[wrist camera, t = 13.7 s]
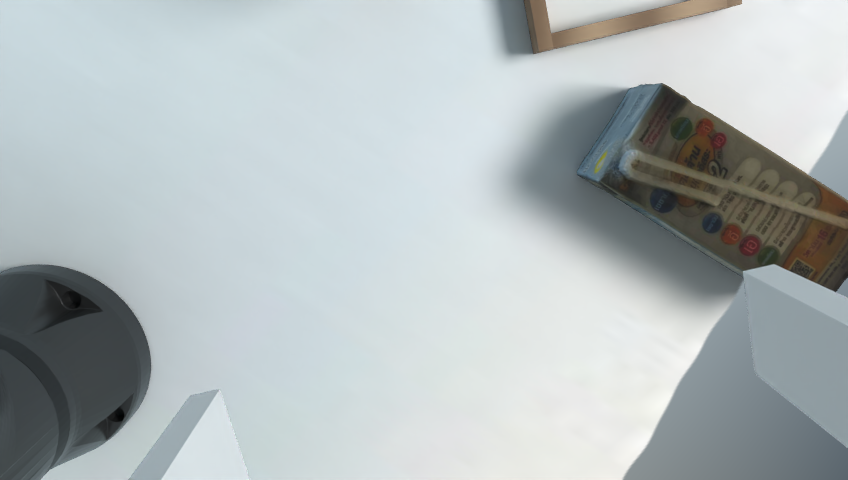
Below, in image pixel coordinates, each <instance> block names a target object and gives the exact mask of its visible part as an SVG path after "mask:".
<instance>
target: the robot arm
mask: <svg viewBox="0 0 848 480" xmlns="http://www.w3.org/2000/svg"><path fill="white" fill-rule="evenodd" d="M743 277H744V285H745V294H746V302H747V311H748V320H749V329H750V337H751V346H752V355H753V362H754V372H755V374H756V375H757V376H758V377H759V378H761V379H762V380H763V381H764V382H766V383H767V384H768V385H770V386H771V387H772V388H773V389H775V390H776V391H777V392H778V393H780V394H781V395H782V396H783V397H785V398H786V399H787V400H788V401H790V402H791V403H792V404H793V405H795V406H796V407H797V408H798V409H800V410H801V411H802V412H803V413H805V414H806V415H807V416H808V417H810V418H811V419H812V420H813V421H815V422H816V423H817V424H818V425H820V426H821V427H822V428H823V429H825V430H826V431H827V432H828V433H830V434H831V435H832V436H833V437H835V438H836V439H837V440H838V441H840V442H841V443H842V444H844V445H845V446H846V447H847V448H848V298H847V297H845V296H843V295H841V294H838V293H836V292H834V291H832V290H830V289H827V288H825V287H823V286H821V285H819V284H816V283H814V282H812V281H810V280H808V279H805V278H803V277H801V276H799V275H797V274H795V273H792V272H790V271H788V270H786V269H784V268H781V267H779V266H777V265H775V264H773V265H769V266H764V267H760V268H755V269H751V270H746V271H743ZM150 374H151V358H150V351H149V346H148V342H147V339H146V336H145V334H144V331H143V329H142V327H141V325H140V323H139V321H138V320H137V318H136V316H135V315H134V313H133V312H132V311H131V309H130V308H129V307H128V305H127V304H126V303H125V302H124V301H123V300H122V299H121V298H120V297H119V296H118V295H117V294H116V293H114V292H113V291H112V290H111V289H109V288H108V287H107V286H105V285H104V284H102V283H101V282H99V281H97V280H96V279H94V278H92V277H90V276H88V275H86V274H83V273H81V272H78V271H75V270H72V269H68V268H64V267H59V266H53V265H27V266H21V267H16V268H12V269H9V270H6V271H3V272H1V273H0V480H40V479H41V478H42V477H43V476H44V475H45V474H46V473H47V472H48V471H49V470H50V469H52V468H54V467H56V466H58V465H61V464H63V463H65V462H67V461H69V460H72V459H74V458H76V457H78V456H81V455H83V454H85V453H87V452H89V451H92V450H94V449H96V448H97V447H99V446H101V445H102V444H104V443H105V442H107V441H108V440H109V439H111V438H112V437H113V436H114V435H115V434H117V433H118V432H119V430H120V429H121V428H122V427H123V426H124V425H125V424H126V423H127V422H128V420H129V419H130V418H131V417H132V416H133V415H134V413H135V412H136V411H137V409H138V408H139V406H140V405H141V403H142V401H143V399H144V397H145V394H146V392H147V389H148V385H149V381H150ZM129 480H250V477H249V474H248V471H247V468H246V465H245V462H244V459H243V456H242V453H241V450H240V447H239V444H238V441H237V438H236V435H235V432H234V430H233V427H232V424H231V421H230V418H229V415H228V412H227V409H226V406H225V403H224V400H223V397H222V394H221V391H220V389H218V390H213V391H209V392H204V393H200V394H195V395H191V396H190V397H189V398H188V399H187V401H186V402H185V403H184V405H183V406H182V408H181V409H180V410H179V412H178V413H177V414H176V416H175V417H174V418H173V420H172V421H171V422H170V424H169V425H168V427H167V428H166V429H165V431H164V432H163V433H162V435H161V436H160V437H159V439H158V440H157V442H156V443H155V444H154V446H153V447H152V448H151V450H150V451H149V452H148V454H147V455H146V457H145V458H144V459H143V461H142V462H141V463H140V465H139V466H138V467H137V469H136V470H135V472H134V473H133V474H132V476H131V477H130V478H129Z"/></svg>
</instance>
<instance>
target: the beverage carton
mask: <svg viewBox="0 0 848 480" xmlns="http://www.w3.org/2000/svg"><path fill="white" fill-rule="evenodd" d="M577 175H579V176H580V177H582V178H584V179H586V180H587V181H589V182H590V183H592V184H594V185H595V186H597V187H599V188H601V189H603V190H604V191H606V192H608V193H610V194H611V195H613V196H614V197H616V198H617V199H619V200H621V201H622V202H624V203H625V204H627V205H629V206H630V207H632V208H633V209H635V210H637V211H638V212H640V213H642V214H643V215H645V216H646V217H648V218H649V219H651V220H652V221H654V222H655V223H657V224H658V225H660V226H662V227H663V228H665V229H666V230H668V231H670V232H671V233H673V234H674V235H676V236H677V237H679V238H680V239H682V240H684V241H685V242H687V243H688V244H690V245H691V246H693V247H695V248H696V249H698V250H700V251H701V252H703V253H704V254H706V255H707V256H709V257H711V258H712V259H714V260H716V261H717V262H719V263H721V264H722V265H724V266H725V267H727V268H729V269H730V270H732V271H734V272H735V273H737V274H738V275H740V276H742V277H743V271H746V270H751V269H755V268H760V267H764V266H769V265H773V264H775V265H777V266H779V267H781V268H784V269H786V270H788V271H790V272H792V273H795V274H797V275H799V276H801V277H803V278H805V279H808V280H810V281H812V282H814V283H816V284H819V285H821V286H823V287H825V288H827V289H830V290H832V291H834V292H836V291H837V290H838V289H839V287H840V286H841V285H842V283H843V282H844V280H846V279H847V278H848V200H846V199H845V198H844V197H842V196H840V195H839V194H838V193H836V192H834V191H833V190H831V189H830V188H828V187H827V186H825V185H824V184H822V183H820V182H819V181H817V180H816V179H814V178H812V177H811V176H809V175H808V174H806V173H805V172H803V171H802V170H800V169H799V168H797V167H795V166H794V165H792V164H791V163H789V162H788V161H786V160H785V159H783V158H781V157H780V156H778V155H777V154H775V153H774V152H772V151H771V150H769V149H767V148H766V147H764V146H762V145H761V144H759V143H758V142H756V141H754V140H753V139H751V138H750V137H748V136H746V135H745V134H743V133H741V132H740V131H738V130H737V129H735V128H734V127H732V126H730V125H729V124H727V123H726V122H724V121H722V120H721V119H719V118H718V117H716V116H714V115H713V114H711V113H709V112H708V111H706V110H704V109H703V108H701V107H699V106H696V105H694V104H693V103H691V101H690V100H689V99H687V98H686V97H685V96H683V95H680V94H679V93H678V92H676V91H675V90H673V89H672V88H671V87H669V86H667V85H665V84H663V83H660V84H645V85H639V86H637V87H633V88H630V89H629V90H628V92H627V94H626V95H625V97H624V99H623V101H622V102H621V104H620V106H619V107H618V109H617V110H616V112H615V114H614V115H613V117H612V119H611V120H610V122H609V123H608V125H607V126H606V128H605V129H604V131H603V132H602V134H601V135H600V137H599V138H598V140H597V141H596V143H595V144H594V146H593V147H592V149H591V150H590V152H589V154H588V155H587V156H586V157H585V159H584V161H583V162H582V164H581V166H580V167H579V169H578V171H577ZM743 278H744V277H743Z"/></svg>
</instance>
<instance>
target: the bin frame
mask: <svg viewBox="0 0 848 480" xmlns="http://www.w3.org/2000/svg"><path fill="white" fill-rule="evenodd" d="M524 4H525V10H526V15H527V21H528V26H529V32H530V38H531V43H532V49H533V54H536V53H540V52H544V51H548V50H552V49H557V48H561V47H565V46H569V45H574V44H578V43H582V42H586V41H590V40H595V39H599V38H603V37H607V36H611V35H616V34H620V33H624V32H628V31H633V30H637V29H641V28H645V27H649V26H654V25H658V24H662V23H666V22H670V21H675V20H679V19H683V18H687V17H692V16H696V15H700V14H704V13H708V12H713V11H717V10H721V9H725V8H729V7H733V6H736V5H740V4H742V0H690V1H686V2H682V3H677V4H673V5H669V6H665V7H660V8H656V9H652V10H648V11H644V12H639V13H635V14H631V15H627V16H623V17H618V18H614V19H610V20H606V21H602V22H597V23H593V24H589V25H585V26H581V27H576V28H572V29H568V30H564V31H560V32H555V33H551V31H550V25H549V19H548V13H547V8H546V2H545V0H524Z"/></svg>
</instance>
